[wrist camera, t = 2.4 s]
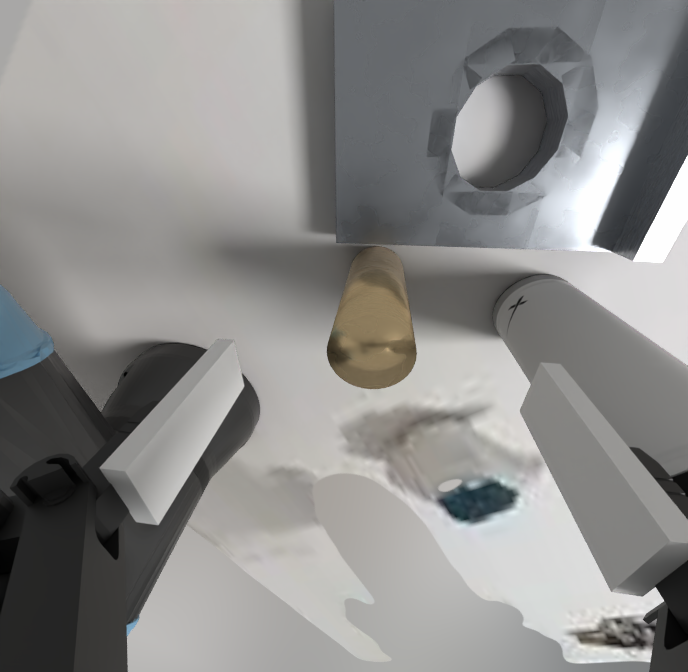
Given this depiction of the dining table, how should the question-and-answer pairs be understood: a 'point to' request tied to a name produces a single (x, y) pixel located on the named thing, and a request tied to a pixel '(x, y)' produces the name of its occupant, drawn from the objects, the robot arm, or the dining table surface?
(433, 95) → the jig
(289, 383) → the dining table surface
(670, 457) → the travel mug
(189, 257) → the dining table surface
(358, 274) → the gold metal cylinder
